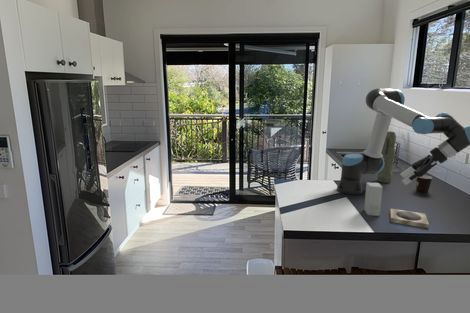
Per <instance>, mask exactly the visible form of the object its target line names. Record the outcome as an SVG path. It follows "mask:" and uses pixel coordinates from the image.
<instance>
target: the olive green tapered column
mask: <svg viewBox="0 0 470 313" xmlns="http://www.w3.org/2000/svg"><path fill="white" fill-rule="evenodd" d="M396 140H397V134H396V132H395V131H388V132H387V135H386V139H385V142H384V145H383V148H382V152H381V153H382V155H383V159H384V162H385V164H384V168H383V169H382V171H380V172H379V173H377V182H378V183H379V182H380V183H382V184H391V183H392V180H393V165H394V159H395V155H396V146H395V145H396V142H397V141H396Z"/></svg>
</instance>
